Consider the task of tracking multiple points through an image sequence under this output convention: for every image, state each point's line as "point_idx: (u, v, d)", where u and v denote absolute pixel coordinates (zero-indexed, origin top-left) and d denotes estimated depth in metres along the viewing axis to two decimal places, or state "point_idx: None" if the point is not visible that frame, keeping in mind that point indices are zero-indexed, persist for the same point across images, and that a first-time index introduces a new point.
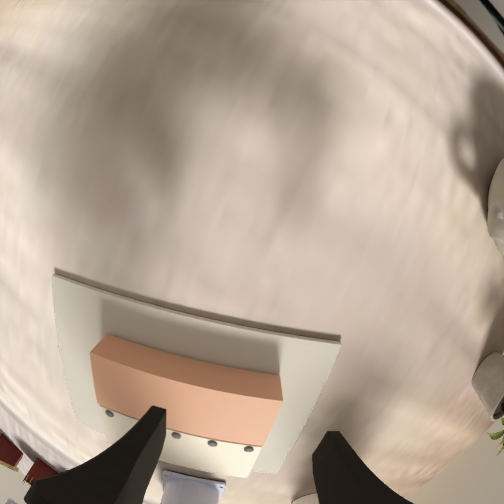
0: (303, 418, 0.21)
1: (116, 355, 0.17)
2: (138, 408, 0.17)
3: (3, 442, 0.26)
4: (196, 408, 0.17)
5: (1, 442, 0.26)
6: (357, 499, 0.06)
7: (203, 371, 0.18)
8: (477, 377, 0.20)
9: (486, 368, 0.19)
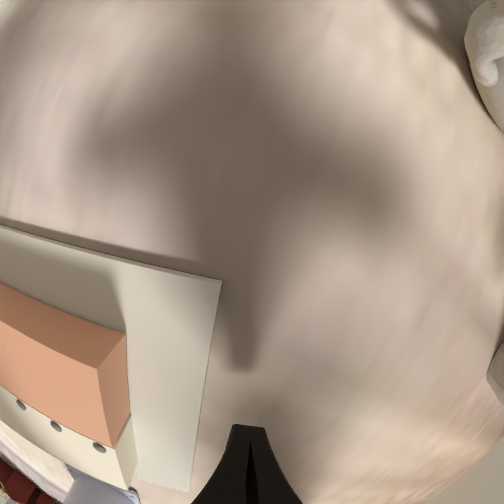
0: (191, 419, 0.13)
1: None
2: None
3: None
4: (14, 361, 0.09)
5: None
6: None
7: (25, 309, 0.10)
8: (496, 368, 0.12)
9: None
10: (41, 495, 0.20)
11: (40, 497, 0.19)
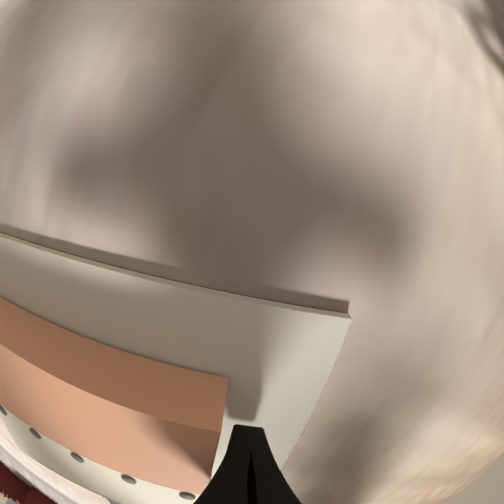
0: (284, 450, 0.11)
1: None
2: (17, 405, 0.08)
3: None
4: (77, 421, 0.07)
5: None
6: None
7: (86, 357, 0.09)
8: None
9: None
10: None
11: None
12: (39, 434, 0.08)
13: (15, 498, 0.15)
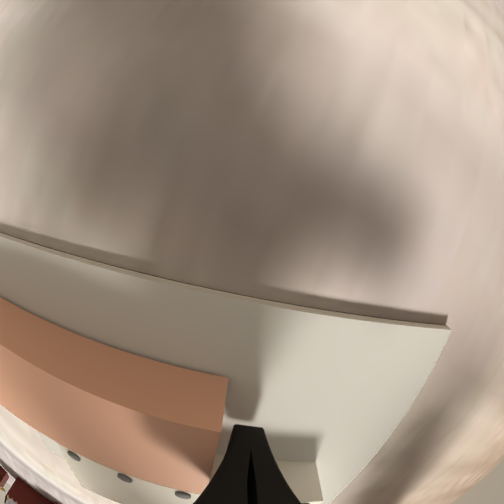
0: (376, 447, 0.12)
1: None
2: (17, 405, 0.08)
3: None
4: (76, 420, 0.07)
5: None
6: None
7: (86, 357, 0.09)
8: None
9: None
10: None
11: None
12: (132, 478, 0.09)
13: None
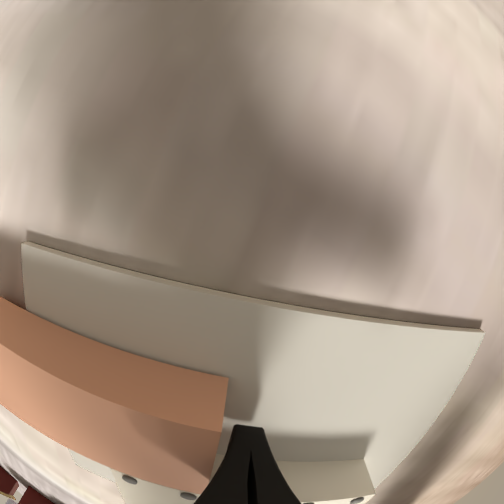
0: (415, 441, 0.12)
1: None
2: (17, 405, 0.08)
3: None
4: (77, 420, 0.07)
5: None
6: None
7: (86, 357, 0.09)
8: None
9: None
10: None
11: None
12: (196, 495, 0.09)
13: None
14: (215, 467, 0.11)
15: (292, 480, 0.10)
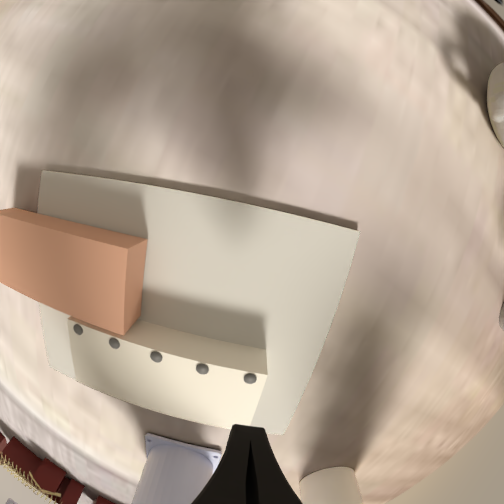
0: (318, 343, 0.18)
1: (8, 214, 0.14)
2: (16, 274, 0.14)
3: None
4: (53, 264, 0.14)
5: None
6: None
7: (69, 225, 0.15)
8: None
9: None
10: (71, 482, 0.27)
11: (70, 484, 0.26)
12: (119, 342, 0.15)
13: (28, 472, 0.22)
14: (140, 327, 0.17)
15: (195, 346, 0.17)
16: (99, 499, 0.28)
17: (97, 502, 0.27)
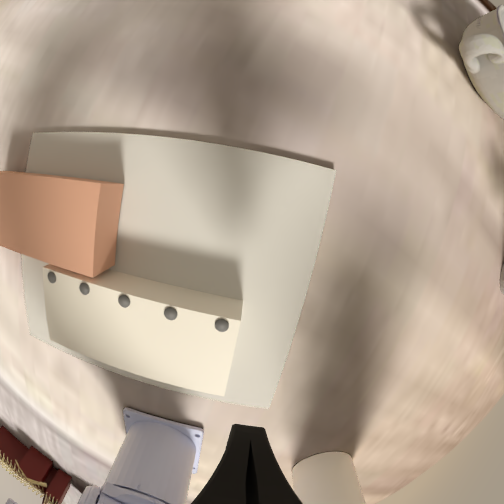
0: (299, 294, 0.18)
1: None
2: (0, 227, 0.14)
3: None
4: (33, 210, 0.13)
5: None
6: None
7: (52, 175, 0.15)
8: None
9: None
10: (58, 472, 0.26)
11: (57, 475, 0.25)
12: (89, 287, 0.15)
13: (15, 461, 0.22)
14: (113, 276, 0.17)
15: (166, 293, 0.16)
16: None
17: None
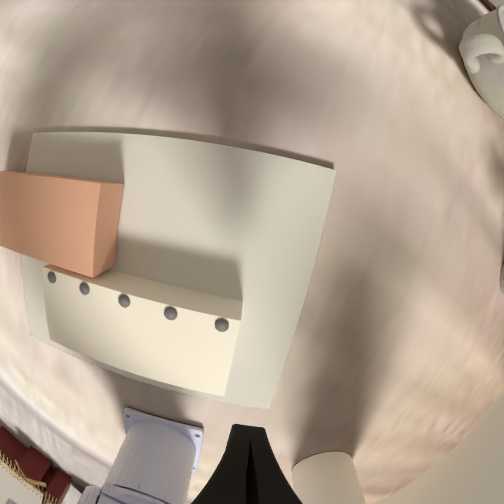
0: (299, 294, 0.18)
1: None
2: (0, 227, 0.14)
3: None
4: (33, 210, 0.13)
5: None
6: None
7: (52, 175, 0.15)
8: None
9: None
10: (57, 472, 0.26)
11: (56, 475, 0.25)
12: (89, 287, 0.15)
13: (15, 461, 0.22)
14: (113, 276, 0.17)
15: (166, 293, 0.16)
16: None
17: None
